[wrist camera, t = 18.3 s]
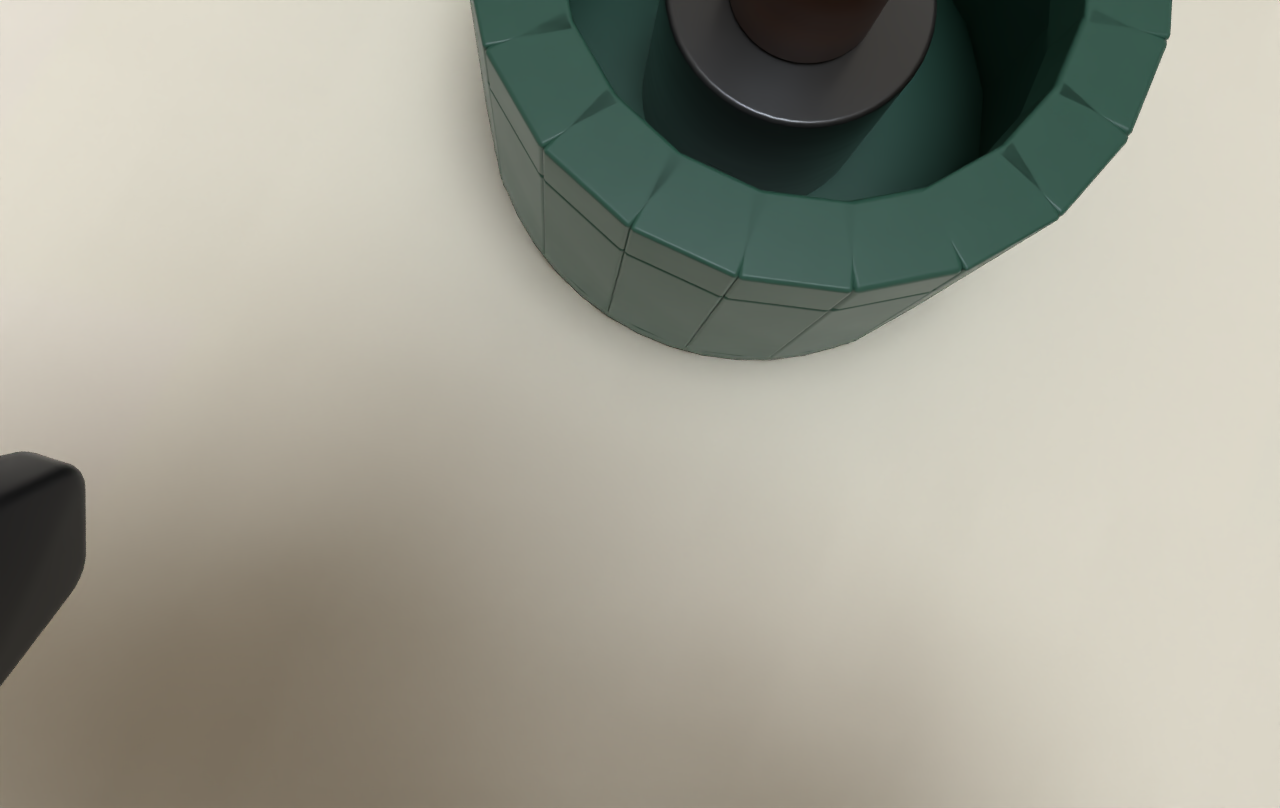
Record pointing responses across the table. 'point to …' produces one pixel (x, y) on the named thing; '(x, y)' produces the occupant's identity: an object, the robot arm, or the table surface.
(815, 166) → the brown cylinder with base
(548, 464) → the table surface
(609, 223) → the round container
